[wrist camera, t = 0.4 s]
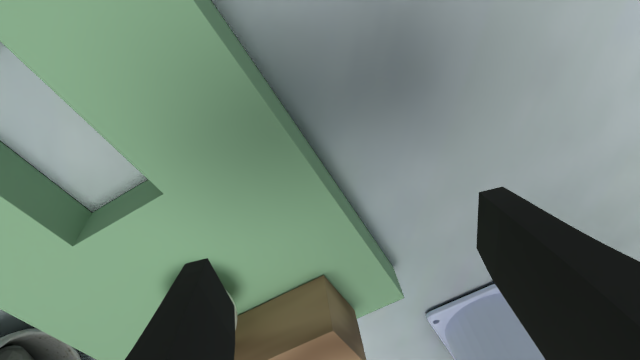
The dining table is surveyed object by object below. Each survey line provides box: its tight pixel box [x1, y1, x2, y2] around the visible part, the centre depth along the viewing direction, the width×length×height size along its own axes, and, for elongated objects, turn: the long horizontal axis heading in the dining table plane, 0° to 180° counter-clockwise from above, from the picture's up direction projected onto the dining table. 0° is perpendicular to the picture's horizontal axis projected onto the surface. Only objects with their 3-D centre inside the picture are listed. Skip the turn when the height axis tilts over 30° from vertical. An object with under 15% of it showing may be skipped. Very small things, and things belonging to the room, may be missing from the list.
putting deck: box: [0, 0, 404, 360], centre depth 16 cm, size 26×18×10 cm
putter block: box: [234, 275, 366, 360], centre depth 22 cm, size 4×12×4 cm, turn 119°
